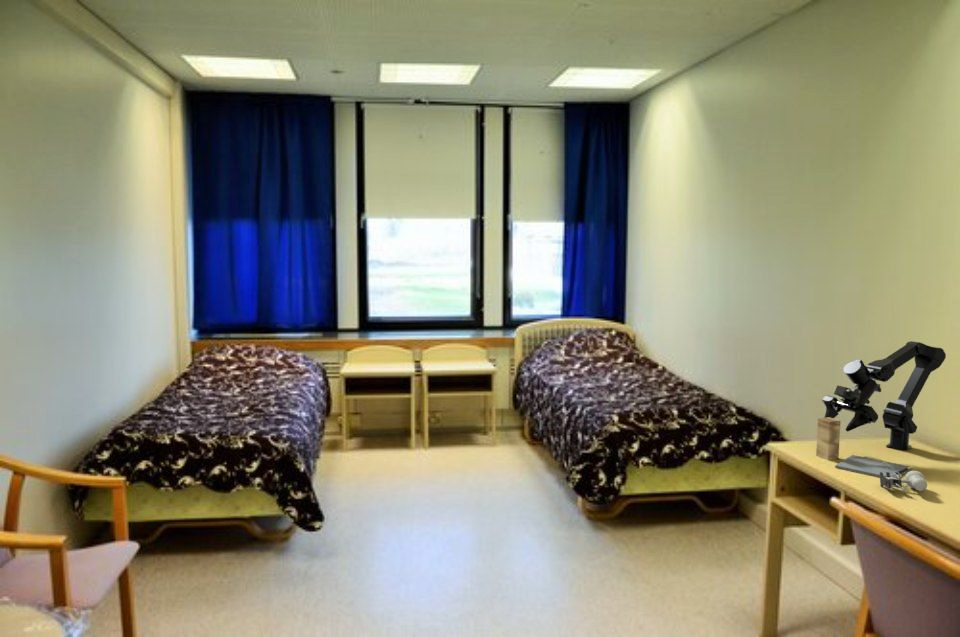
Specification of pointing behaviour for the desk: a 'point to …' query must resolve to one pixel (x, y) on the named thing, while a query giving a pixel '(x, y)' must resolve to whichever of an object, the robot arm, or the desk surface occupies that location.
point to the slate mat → (869, 466)
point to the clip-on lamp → (911, 478)
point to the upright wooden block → (828, 438)
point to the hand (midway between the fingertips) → (835, 427)
